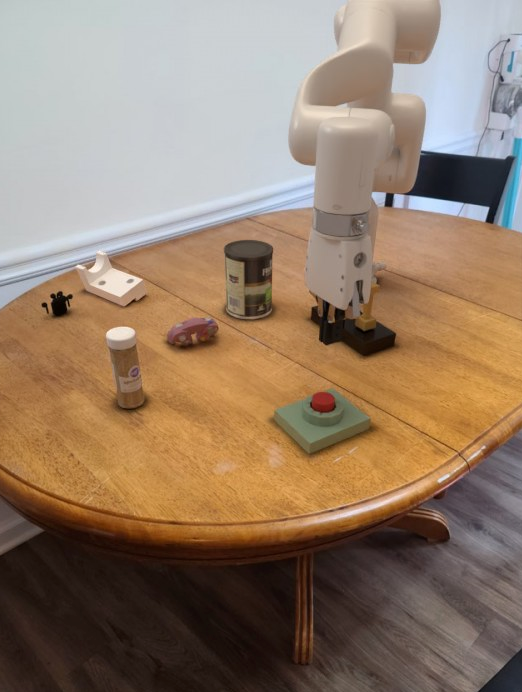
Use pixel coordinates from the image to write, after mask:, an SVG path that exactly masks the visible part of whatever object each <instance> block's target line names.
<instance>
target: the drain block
mask: <svg viewBox="0 0 522 692" xmlns="http://www.w3.org/2000/svg"><path fill="white" fill-rule="evenodd" d="M323 392H328V393H330V394H332V395H333V396H334V397H335V404H334V409H333V411H332V412H329V413H320V412H317V411H314V410H313V409H312V397H313V395H314V394H315V393H314V394H311V395H308V396H305V398H303V399H300V400H297V401H295V402H291V403H288V404H287V405H284V406H281V407H278V408H276V409H274V416H273V417H274V418H273V419H274V422H275V423H276V424H278V425H279V427H280V428H281V429H283V430H284V432H286V433H287V434H288V435H289V436H290V437H291V438H292V439H293V440H294V441H295V443H297V444H298V445H299V446H300V447H301V448H302V449H303V450H304V451H305V452H306V453H308V454H309V455H311V454H314V453H316V452H318V451H320V450H323V449H325V448H327V447H330V446H332V445H335V444H337V443H339V442H341V441H345V440H346V439H349V438H351V437H353V436H356V435H358V434H360V433H362V432H365V431H367V430H369V429H370V425H371V419H372V418H371V417H370V416H369V415H367V414H366V413H365V412H363V410H361V409H360V408H358V407H357V406H356V405H355V404H353V403H352V402H351V401H350V400H348V399H347V398H346V397H344V395H342V394H341V393H340V392H338V391H337V390H336V389H335V388H331V389H327V390H324V391H323Z"/></svg>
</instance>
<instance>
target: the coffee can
mask: <svg viewBox="0 0 522 692" xmlns="http://www.w3.org/2000/svg"><path fill="white" fill-rule="evenodd" d="M223 253H224V273H225V276H224V277H225V294H226V295H225V300H226V308H225V311H226V312H227V314H228V315H230V316H231V317H233V318H236V319H240V320H259V319H263V318H265V317H267V316H269V315H270V314H271V313H272V311H273V307H272V306H273V305H272V304H273V254H274V247H273V246H272V244H270V243H268V242H265V241H262V240H257V239H240V240H234V241H231V242H229V243H227V244H226V245H224V247H223Z"/></svg>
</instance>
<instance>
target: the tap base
mask: <svg viewBox="0 0 522 692" xmlns="http://www.w3.org/2000/svg"><path fill="white" fill-rule="evenodd" d="M338 309H339V308H338ZM338 309H337V310H338ZM362 314H363V311H361V310H360V315H362ZM320 318H322V317H320V316H319V315H318V305H315V306H311V311H310V320H311V321H312V322H313V323H315V324H317V325H318V326H319V327H320ZM355 320H356V318H355V319H348V318H346V319H344V320H343V330H342V339H341V341H340V342H342V343H344V344H345V345H347V346H348V347H350V348H351V349H353V350H354V351H355V352H357V353H358V354H359V355H361V356H362V357H367V356H369V355H372V354H375V353H378V352H381V351H384V350H387V349H390V348H393V347H395V343H396V337H397V332H395V331H394V330H392V329H390V328H389V327H387V326H386V325H384V324H382V323H381V322H379V321H376V327H375V328H372V329H369V330H366V331H363V330H362V329H360V328H359V327H357V326H356V325H355Z"/></svg>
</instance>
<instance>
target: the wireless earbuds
mask: <svg viewBox="0 0 522 692" xmlns="http://www.w3.org/2000/svg"><path fill="white" fill-rule="evenodd" d="M49 298H50V299H52V301H51V302H50V308H51V311H52V314H53V315H54V316H60V315H63V314H66V313H67V312H68V308H70V307H71V302H70V300H72V299H73V298H74V295H73V294H72V293H69V294H67V295H64V292H63V291H62V290H59V291H57V292H56V293H50V295H49ZM41 307H42V308H43V309H45V310H46V315H50V310H49V306H48V303H47V302H46V301H43V302H42V303H41Z"/></svg>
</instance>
